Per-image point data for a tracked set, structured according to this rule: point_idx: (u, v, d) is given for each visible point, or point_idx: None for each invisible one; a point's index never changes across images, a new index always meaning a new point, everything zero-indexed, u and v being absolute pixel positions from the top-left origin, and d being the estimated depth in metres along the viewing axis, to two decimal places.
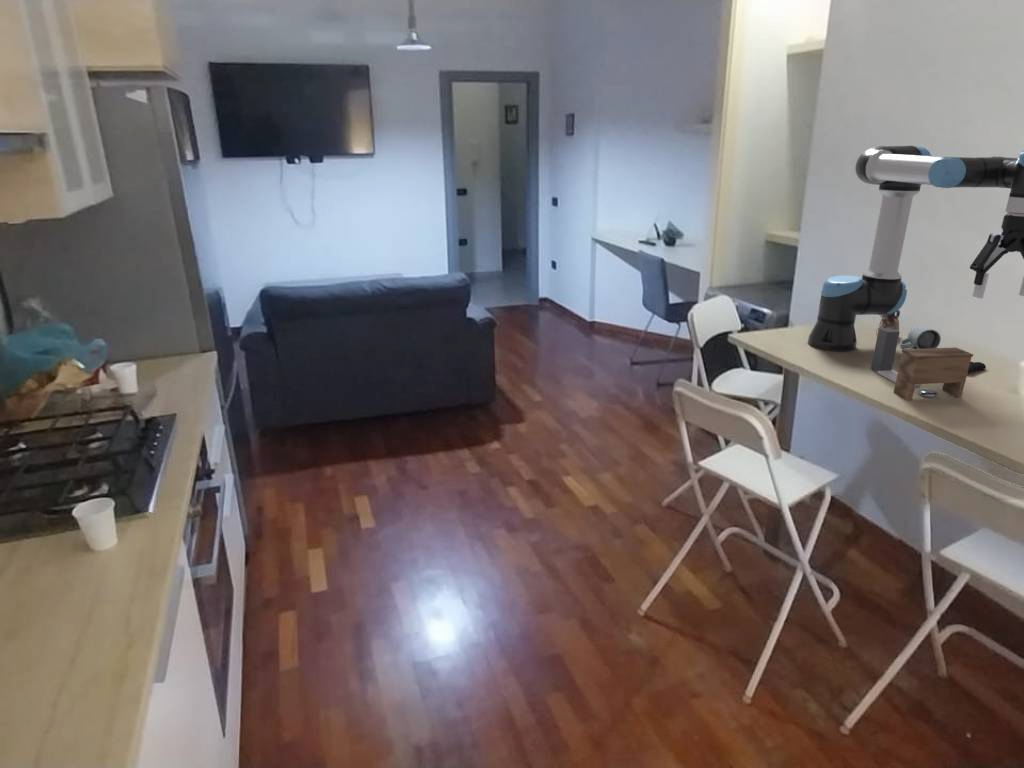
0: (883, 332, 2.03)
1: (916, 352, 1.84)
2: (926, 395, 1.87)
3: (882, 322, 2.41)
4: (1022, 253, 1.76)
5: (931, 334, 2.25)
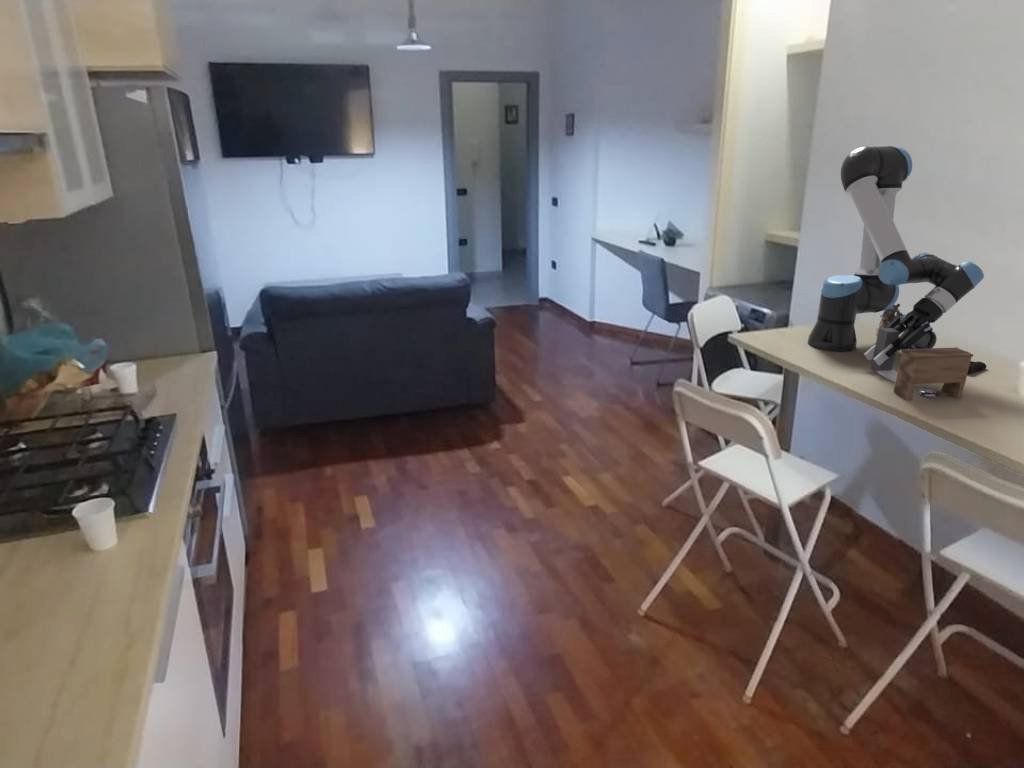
0: (883, 332, 2.03)
1: (916, 352, 1.84)
2: (925, 395, 1.87)
3: (882, 322, 2.41)
4: None
5: (927, 334, 2.26)
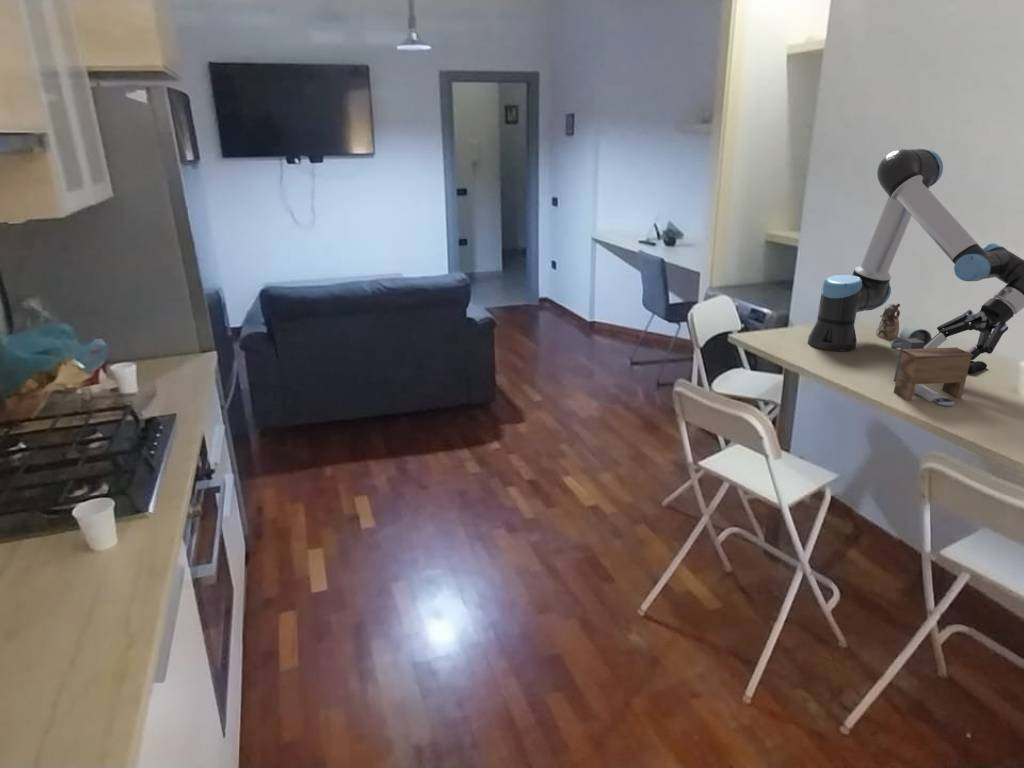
0: (907, 343, 1.93)
1: (916, 352, 1.84)
2: (941, 403, 1.81)
3: (882, 322, 2.41)
4: None
5: (922, 334, 2.26)
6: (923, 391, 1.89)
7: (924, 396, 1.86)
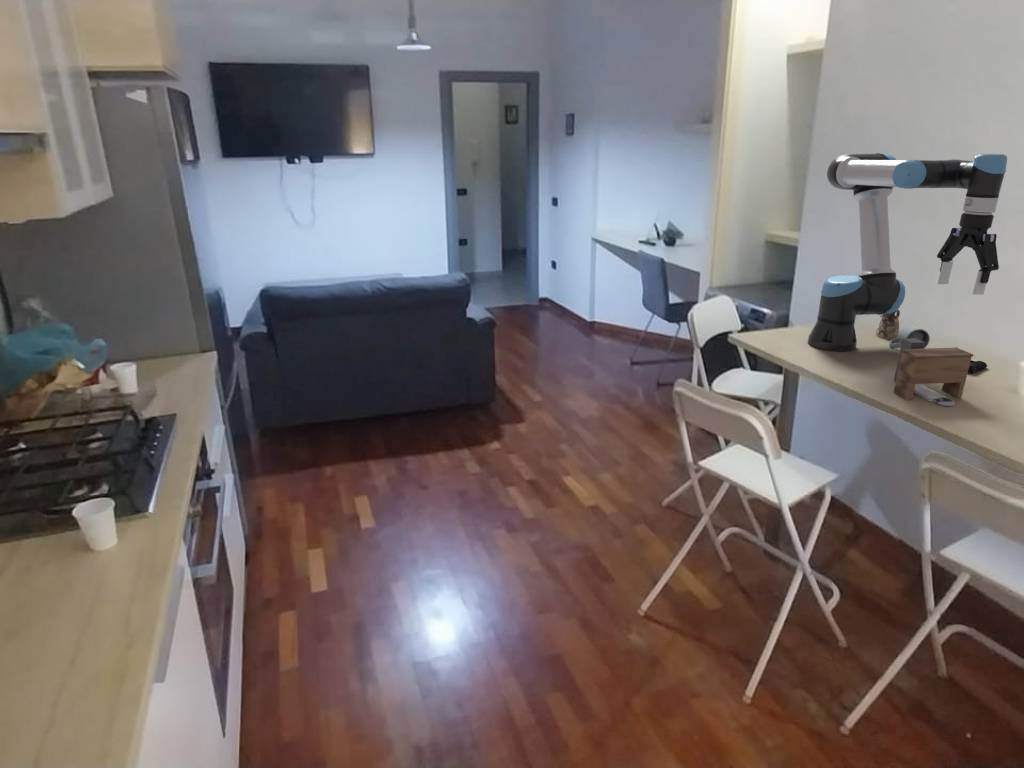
0: (907, 343, 1.93)
1: (916, 352, 1.84)
2: (940, 403, 1.81)
3: (882, 322, 2.41)
4: None
5: (920, 334, 2.26)
6: (923, 391, 1.89)
7: (924, 396, 1.86)
